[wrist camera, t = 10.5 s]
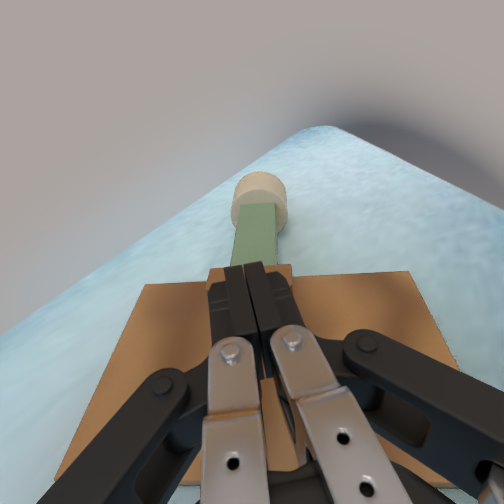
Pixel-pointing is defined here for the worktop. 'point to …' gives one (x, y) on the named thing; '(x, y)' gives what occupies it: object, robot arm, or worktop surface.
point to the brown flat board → (199, 345)
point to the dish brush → (257, 225)
